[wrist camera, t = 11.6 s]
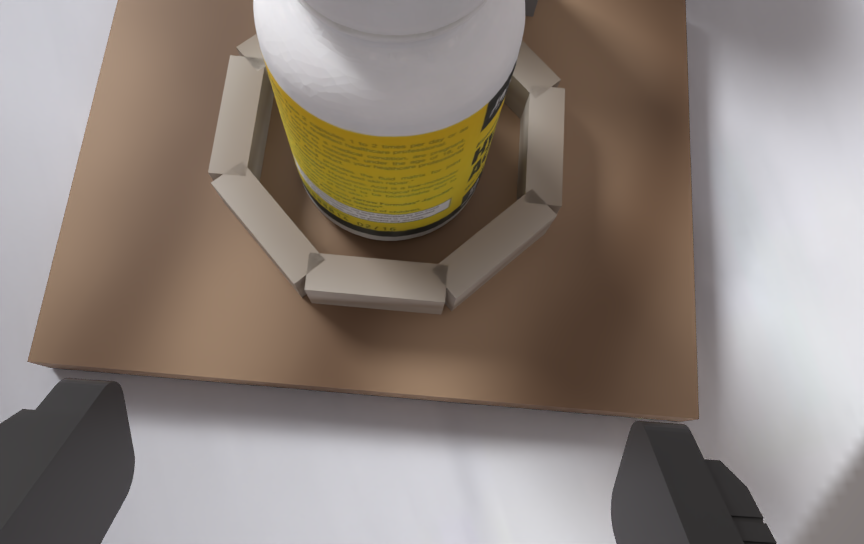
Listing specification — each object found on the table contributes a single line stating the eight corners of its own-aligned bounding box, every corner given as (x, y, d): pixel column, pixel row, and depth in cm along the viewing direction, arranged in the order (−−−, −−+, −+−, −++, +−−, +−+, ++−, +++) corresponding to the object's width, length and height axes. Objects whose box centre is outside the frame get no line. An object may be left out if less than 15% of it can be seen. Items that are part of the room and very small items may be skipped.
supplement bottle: (489, 242, 19) (581, 29, 10) (299, 249, 19) (202, 36, 9) (475, 76, 21) (543, -250, 11) (299, 80, 20) (214, -253, 11)
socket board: (50, 367, 19) (-113, 324, 13) (148, -43, 22) (60, -225, 17) (680, 421, 19) (808, 404, 13) (670, 10, 23) (766, -147, 17)
